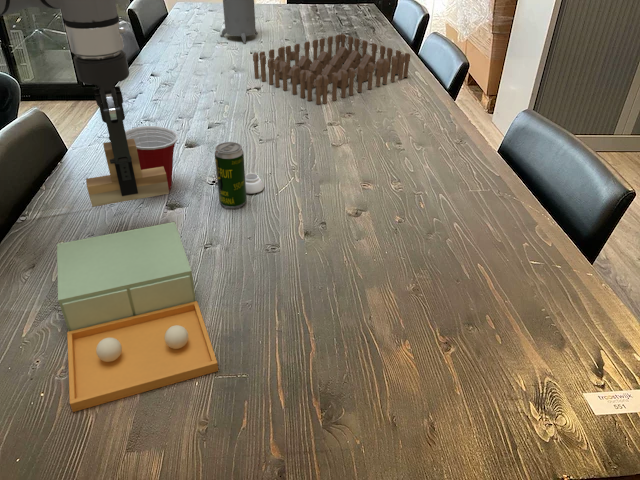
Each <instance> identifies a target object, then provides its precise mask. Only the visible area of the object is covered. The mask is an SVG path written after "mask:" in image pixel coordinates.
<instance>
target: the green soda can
mask: <svg viewBox="0 0 640 480" xmlns="http://www.w3.org/2000/svg"><path fill="white" fill-rule="evenodd" d="M214 150H215V151H214V162H215V171H216V181H217V192H218V201H219V204H220V205H221V206H222V207H223V208H225V209H228V210H236V209H240V208H242V207H243V206H245V205H246V202H247V199H248V198H247V193H246V182H245V175H246V171H245V170H246V169H245V153H244V150H243V146H242V144H240V143H238V142H236V141H235V142H234V141H226V142H221V143H219V144H217V145H216V146H215V147H214Z"/></svg>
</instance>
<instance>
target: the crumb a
mask: <svg viewBox="0 0 640 480" xmlns="http://www.w3.org/2000/svg"><path fill="white" fill-rule="evenodd" d="M121 352H122V346H121V343H120V342H119V341H118V340H117V339H115V338H105V339H103V340H101V341H100V342H99V344H98V345H97V348H96V353H97V356H98V357H99V358H100V359H101V360H102V361H105V362H111V361H114V360H116V359H117V358H118V357H119V356H120V354H121Z"/></svg>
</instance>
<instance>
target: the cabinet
mask: <svg viewBox="0 0 640 480" xmlns="http://www.w3.org/2000/svg"><path fill="white" fill-rule="evenodd" d="M56 259H57V260H56V263H57V265H56V266H57V267H56V268H57V269H56V271H57V302H58V304H59V307H60V308H59V309H60V310H61V313H62V316H63V320H64V323H65V325H66V329H67V332H69V331H73V330H77V329H82V328H86V327H90V326H94V325H98V324H102V323H107V322H111V321H115V320H119V319H123V318H128V317H132V316H136V315H140V314H144V313H149V312H153V311H157V310H161V309H165V308H170V307H174V306H178V305H182V304H186V303H191V302H195V301H197V299H196V292H195V291H196V290H195V287H194V286H195V285H194V278H193V277H194V276H193V272H192V267H191V265H190V262H189V259H188V257H187V253H186V250H185V248H184V244H183V242H182V239H181V235H180V233H179V229H178V227H177V224H176V222H175V221H172V222H166V223H162V224H161V223H160V224H155V225H150V226H145V227H140V228H139V227H138V228H135V229H129V230H123V231H119V232H118V231H117V232H114V233H113V232H112V233H108V234H102V235H97V236H91V237H86V238H82V239H76V240H71V241H65V242H61V243H57V244H56Z"/></svg>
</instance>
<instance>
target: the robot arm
mask: <svg viewBox="0 0 640 480" xmlns="http://www.w3.org/2000/svg"><path fill="white" fill-rule="evenodd" d="M30 8H40V9H41V8H42V9H43V8H44V9H53V10H55V9H56V10H58V9H59V10H61V11H60V12H61V15H62V18H63V22H64V29H65V32H66V36H67V40H68V45H69V48H70V51H71V53H72V54H74V57H73V62H74V63H73V64H74V66H75V71H76V75H77V78H78V80H79V81H80V82H81V83H83V84H85V85H90V86H92V85H95V86H96V88H93V93H94V98H95V102H96V105H97V106H98V108H99V112H100V117H101V120H102V122H103V123H105V124H106V126H107V128H106V129H107V132H108V140H109V142H111V146H112V150H113V155H114V158H113V159H110V163H111V164H114V163H115V168H116V172H117V177H118V181H119V185H120V190H121V194H122V196H127V195H133V194H138V190H137V185H136V180H135V175H134V170H133V166H132V161H131V160H132V158H131V156H130V153H129V148H128V143H127V138H126V133H125V131H126V130H125V125H124V124H125V123H124V120H125V119H126V115H125V111H124V106H123V103H124V98H123V97H124V96H123V93H122V90H121V86H120V85H118V86H117V85H115V84H117V83H119V82H123V81H125V80H126V79H128V77H129V76H130V68H129V64H128V59H127V53H126V52H124V48H125V45H124V44H125V43H124V40H123V39H124V38H123V36H122V35H124V34H126V33H127V31H126V28H125V27H124V26H121V24H120V19H119V14H118V9H117V3H116V0H0V17H2V16H6V15H9V14H12V13H15V12H16V13H17V12H18V11H21V10H25V9H30Z"/></svg>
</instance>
